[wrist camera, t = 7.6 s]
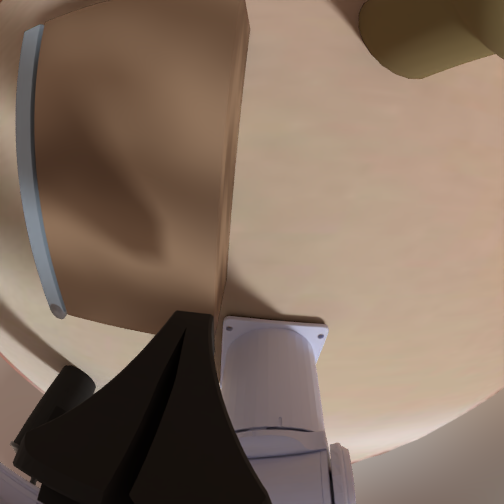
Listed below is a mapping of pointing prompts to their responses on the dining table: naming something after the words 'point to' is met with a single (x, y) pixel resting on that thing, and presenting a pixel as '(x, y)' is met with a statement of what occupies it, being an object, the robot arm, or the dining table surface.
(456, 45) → the cork
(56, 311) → the cabinet door
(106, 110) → the cabinet
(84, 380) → the drinking cup
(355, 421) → the dining table surface
